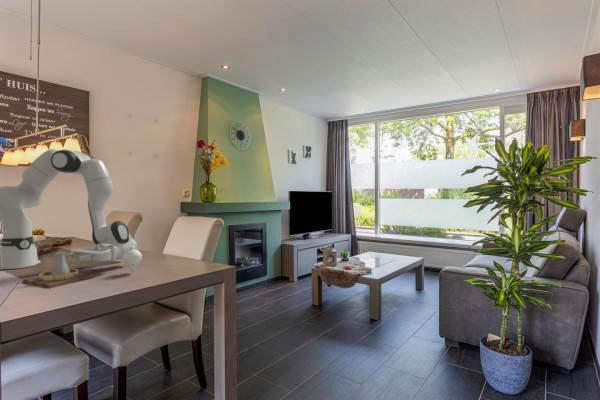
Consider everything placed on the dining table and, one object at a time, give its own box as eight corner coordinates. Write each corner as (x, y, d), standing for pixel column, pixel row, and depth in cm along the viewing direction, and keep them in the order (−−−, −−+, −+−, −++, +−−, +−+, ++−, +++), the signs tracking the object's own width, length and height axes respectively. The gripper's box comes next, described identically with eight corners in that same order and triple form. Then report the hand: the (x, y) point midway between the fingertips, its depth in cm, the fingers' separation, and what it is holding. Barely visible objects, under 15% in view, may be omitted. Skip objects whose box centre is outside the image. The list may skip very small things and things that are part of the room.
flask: (61, 279, 136) (61, 254, 136) (45, 278, 137) (44, 254, 137) (75, 275, 143) (75, 251, 143) (59, 274, 144) (59, 251, 144)
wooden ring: (32, 279, 137) (31, 274, 137) (66, 272, 148) (66, 267, 148) (51, 282, 131) (51, 277, 131) (85, 275, 143) (85, 270, 143)
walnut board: (22, 282, 136) (22, 279, 136) (67, 273, 151) (67, 270, 151) (50, 288, 128) (50, 284, 128) (94, 277, 143) (94, 274, 143)
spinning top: (118, 274, 150) (118, 247, 149) (134, 270, 156) (133, 244, 156) (130, 276, 146) (130, 248, 146) (145, 272, 153) (145, 245, 153)
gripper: (88, 244, 161) (57, 248, 149) (117, 247, 152) (86, 252, 140) (89, 257, 161) (57, 263, 149) (118, 261, 152) (87, 267, 140)
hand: (72, 257), depth 144 cm, fingers open, 8 cm apart
